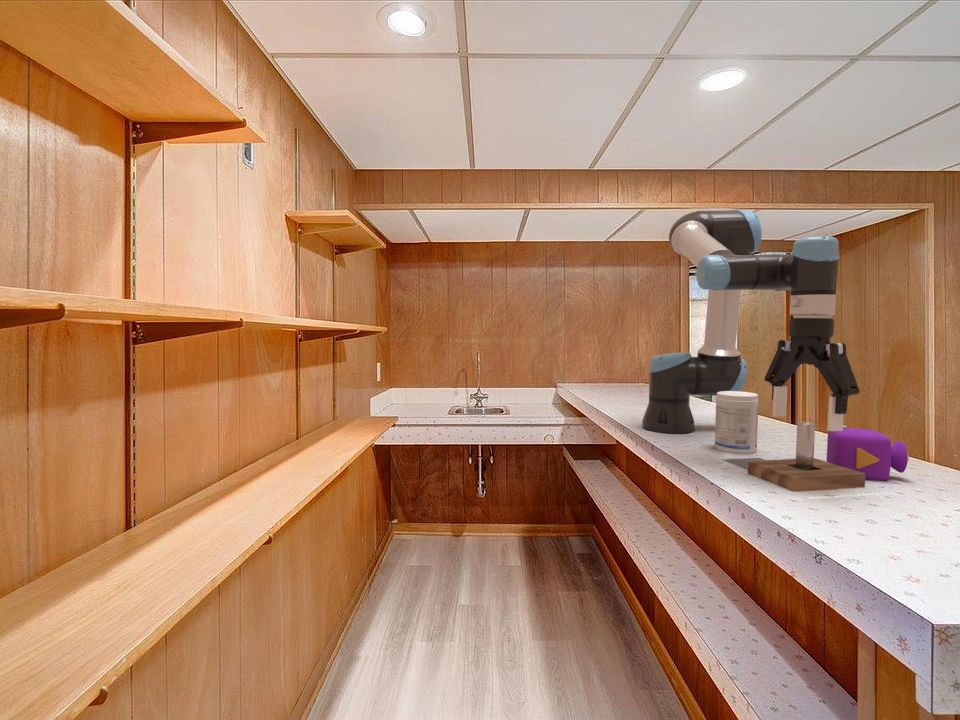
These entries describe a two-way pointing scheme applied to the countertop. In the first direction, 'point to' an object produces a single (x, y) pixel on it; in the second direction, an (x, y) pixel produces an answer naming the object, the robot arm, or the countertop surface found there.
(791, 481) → the socket block
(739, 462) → the mat
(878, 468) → the toy camera
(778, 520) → the countertop surface
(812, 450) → the peg
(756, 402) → the supplement tub
